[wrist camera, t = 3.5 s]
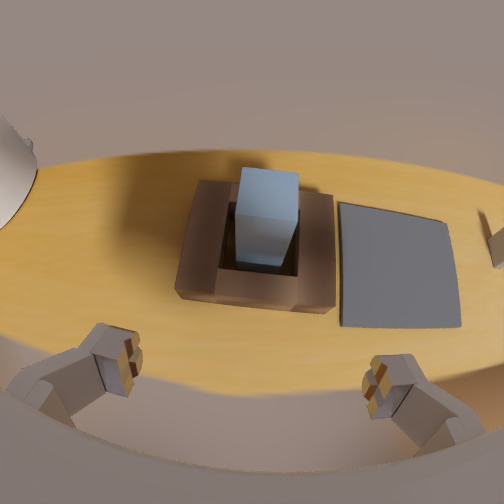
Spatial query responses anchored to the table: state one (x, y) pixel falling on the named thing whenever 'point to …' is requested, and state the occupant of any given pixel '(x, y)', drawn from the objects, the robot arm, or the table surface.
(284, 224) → the peg
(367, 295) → the rubber mat
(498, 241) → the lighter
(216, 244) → the pocket holder
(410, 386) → the robot arm
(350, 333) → the table surface
